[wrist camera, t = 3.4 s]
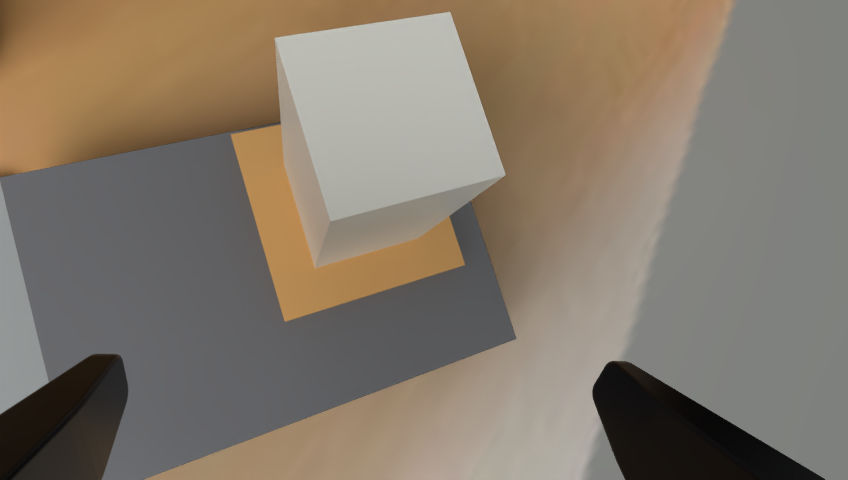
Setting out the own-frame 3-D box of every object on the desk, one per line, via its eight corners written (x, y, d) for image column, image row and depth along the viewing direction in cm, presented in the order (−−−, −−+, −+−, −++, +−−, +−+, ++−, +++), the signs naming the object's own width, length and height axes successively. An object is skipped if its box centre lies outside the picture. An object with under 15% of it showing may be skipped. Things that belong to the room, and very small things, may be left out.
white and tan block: (437, 274, 23) (584, 221, 11) (286, 322, 21) (275, 317, 9) (392, 133, 23) (487, -53, 12) (241, 167, 21) (178, -20, 10)
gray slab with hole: (488, 337, 23) (516, 338, 20) (112, 475, 18) (78, 503, 15) (417, 119, 24) (434, 91, 21) (43, 199, 19) (-1, 177, 16)
